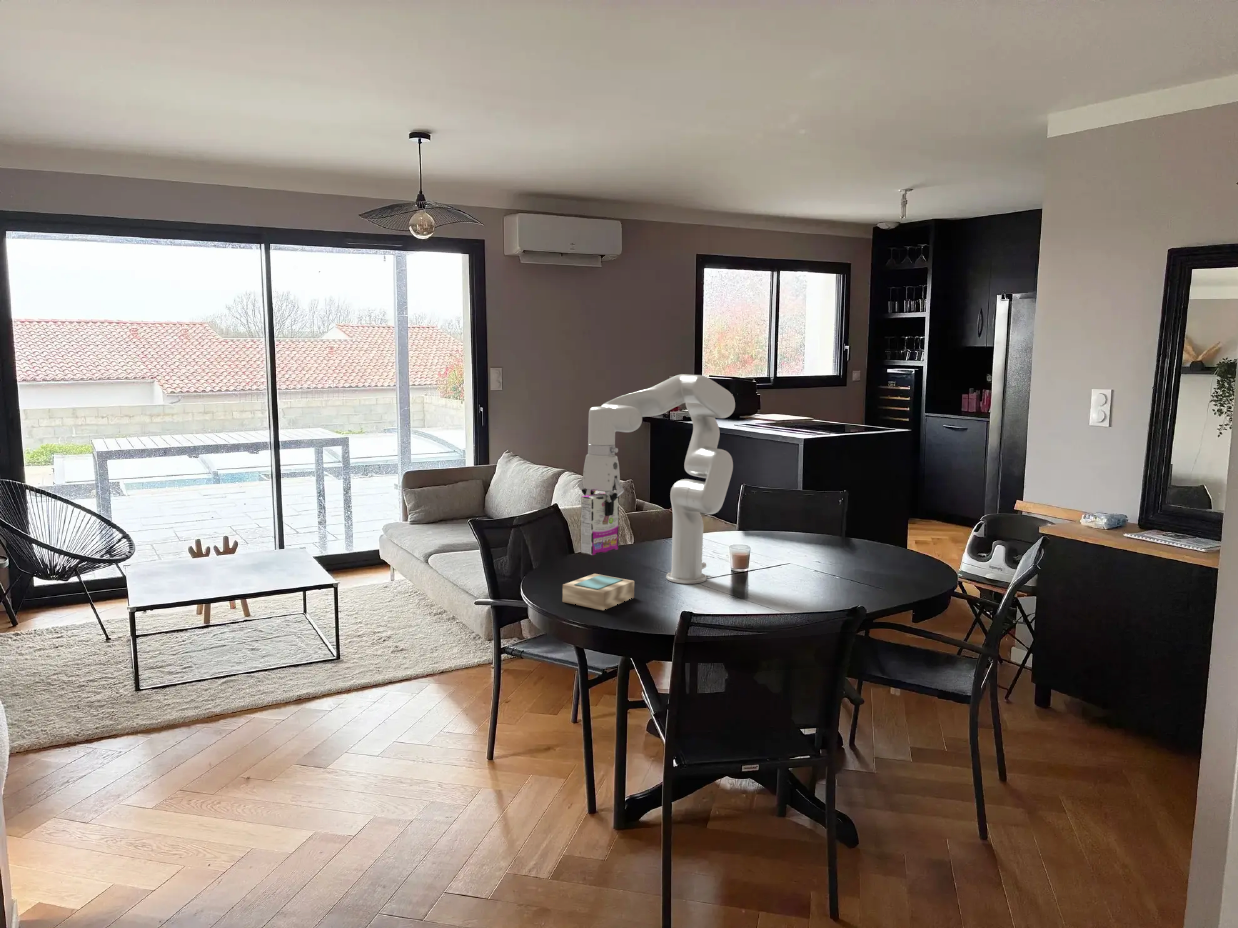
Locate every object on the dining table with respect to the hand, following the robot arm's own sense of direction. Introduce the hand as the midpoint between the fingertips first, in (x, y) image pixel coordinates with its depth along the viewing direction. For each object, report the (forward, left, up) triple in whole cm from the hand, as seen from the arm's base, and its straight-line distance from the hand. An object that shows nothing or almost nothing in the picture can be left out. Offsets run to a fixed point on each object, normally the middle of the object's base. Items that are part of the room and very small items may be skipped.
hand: (600, 513), depth 261 cm
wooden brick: (0, 0, -25) cm, 25 cm away
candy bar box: (0, 0, -11) cm, 11 cm away
